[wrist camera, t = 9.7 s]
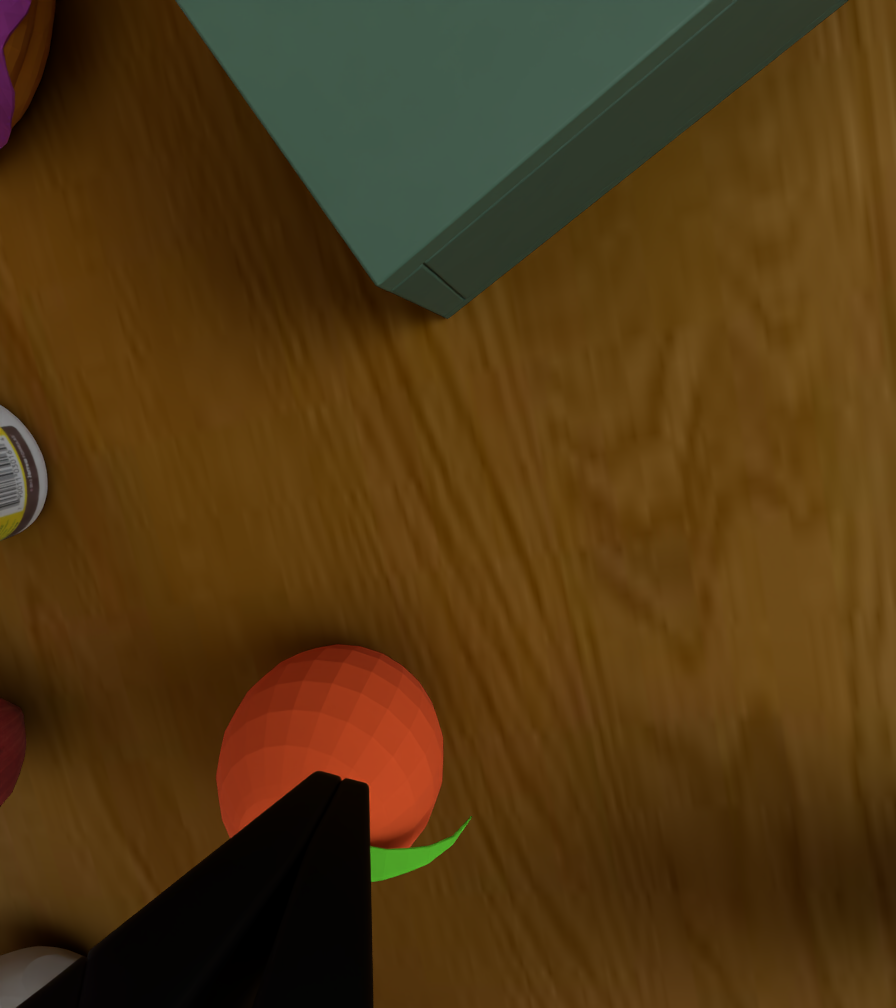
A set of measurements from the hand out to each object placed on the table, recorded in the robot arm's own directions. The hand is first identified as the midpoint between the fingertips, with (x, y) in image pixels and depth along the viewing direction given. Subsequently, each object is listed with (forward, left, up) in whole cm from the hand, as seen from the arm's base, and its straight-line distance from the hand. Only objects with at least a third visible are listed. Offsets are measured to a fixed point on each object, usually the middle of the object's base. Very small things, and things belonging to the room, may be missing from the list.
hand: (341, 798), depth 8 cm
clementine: (+2, +6, -11) cm, 13 cm away
